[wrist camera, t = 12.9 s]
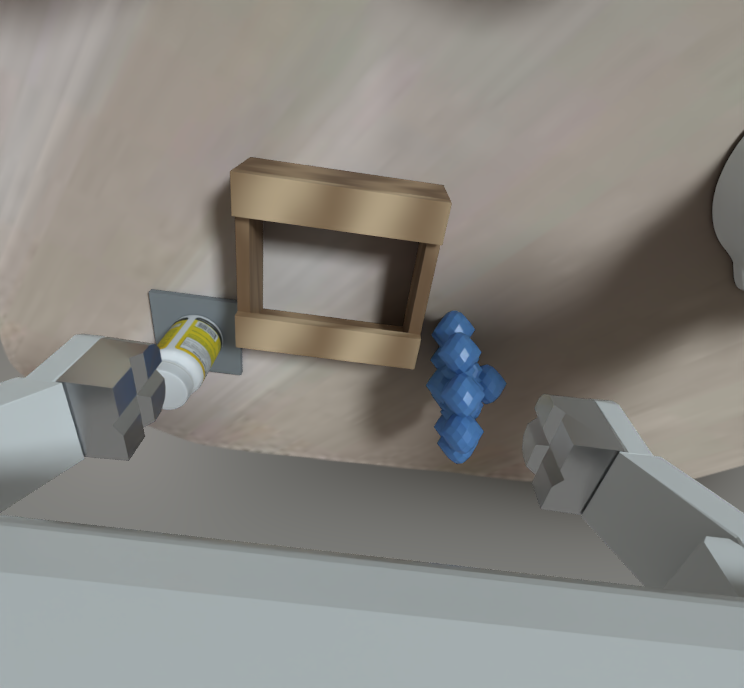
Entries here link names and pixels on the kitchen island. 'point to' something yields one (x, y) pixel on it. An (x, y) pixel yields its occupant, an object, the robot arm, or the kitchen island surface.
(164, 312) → the slate pad
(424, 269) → the crate
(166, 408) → the supplement bottle
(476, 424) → the grapes
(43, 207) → the kitchen island surface
